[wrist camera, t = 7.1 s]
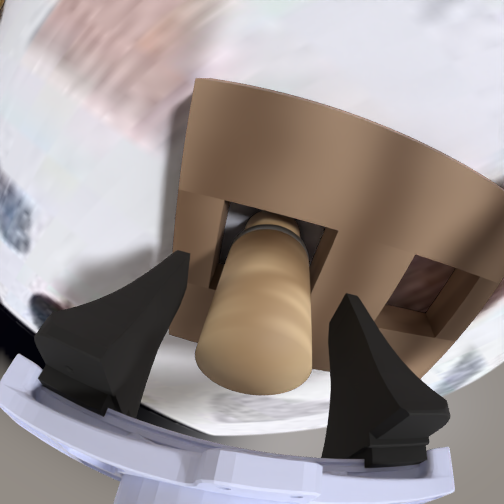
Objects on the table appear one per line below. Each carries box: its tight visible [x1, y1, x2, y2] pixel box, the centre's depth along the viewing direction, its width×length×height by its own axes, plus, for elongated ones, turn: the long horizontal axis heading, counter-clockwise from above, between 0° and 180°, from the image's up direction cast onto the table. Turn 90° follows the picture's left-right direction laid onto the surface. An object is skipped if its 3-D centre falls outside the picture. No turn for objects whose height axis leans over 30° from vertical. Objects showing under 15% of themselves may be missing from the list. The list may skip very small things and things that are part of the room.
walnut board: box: [169, 78, 504, 379], centre depth 16 cm, size 20×16×2 cm
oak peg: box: [195, 210, 312, 395], centre depth 13 cm, size 4×4×9 cm
